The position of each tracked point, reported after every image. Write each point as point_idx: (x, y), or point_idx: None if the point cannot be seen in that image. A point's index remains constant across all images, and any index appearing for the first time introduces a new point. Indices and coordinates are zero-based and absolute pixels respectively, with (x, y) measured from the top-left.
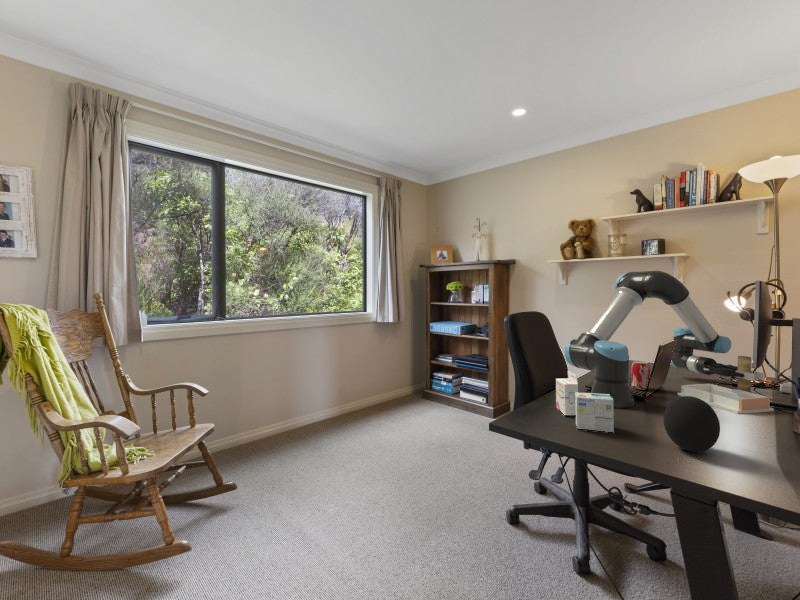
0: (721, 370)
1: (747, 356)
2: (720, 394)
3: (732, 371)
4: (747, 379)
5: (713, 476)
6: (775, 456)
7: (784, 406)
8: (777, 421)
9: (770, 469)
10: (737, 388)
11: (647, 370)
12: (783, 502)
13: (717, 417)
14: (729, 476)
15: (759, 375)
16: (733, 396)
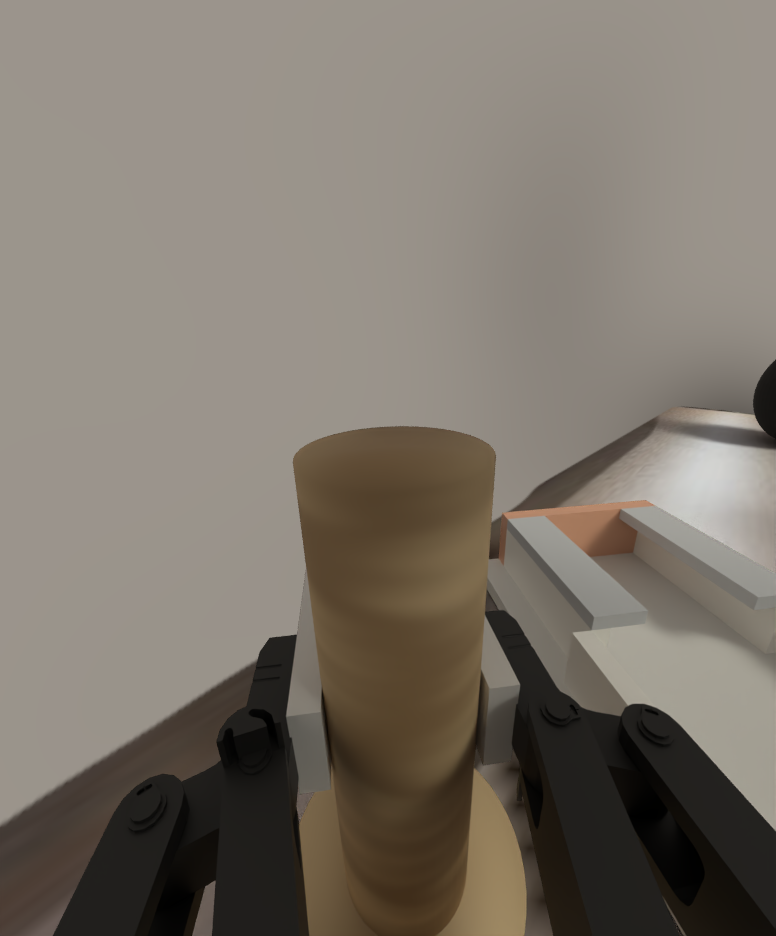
0: (771, 847)
1: (300, 462)
2: (739, 559)
3: (571, 706)
4: None
5: (751, 421)
6: (646, 439)
7: None
8: None
9: (669, 427)
10: (456, 898)
11: None
12: (678, 409)
13: (766, 369)
14: (729, 421)
15: None
16: (672, 523)
